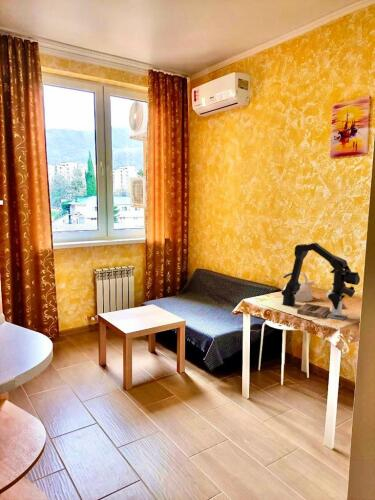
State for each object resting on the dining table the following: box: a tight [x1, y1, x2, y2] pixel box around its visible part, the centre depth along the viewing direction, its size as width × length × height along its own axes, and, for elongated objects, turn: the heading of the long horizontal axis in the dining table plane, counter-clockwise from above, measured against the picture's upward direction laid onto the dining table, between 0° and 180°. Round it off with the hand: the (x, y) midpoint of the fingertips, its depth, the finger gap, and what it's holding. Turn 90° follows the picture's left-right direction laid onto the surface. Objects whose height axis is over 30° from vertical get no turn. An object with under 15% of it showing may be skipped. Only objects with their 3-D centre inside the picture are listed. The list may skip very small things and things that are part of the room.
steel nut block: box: [331, 299, 343, 315], centre depth 203 cm, size 4×4×8 cm
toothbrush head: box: [325, 289, 344, 309], centre depth 233 cm, size 5×7×25 cm
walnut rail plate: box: [296, 303, 331, 319], centre depth 211 cm, size 14×16×2 cm
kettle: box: [281, 271, 315, 303], centre depth 243 cm, size 20×21×18 cm
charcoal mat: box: [325, 312, 347, 322], centre depth 204 cm, size 9×9×1 cm
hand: (337, 308), depth 203 cm, fingers closed on steel nut block, 4 cm apart
